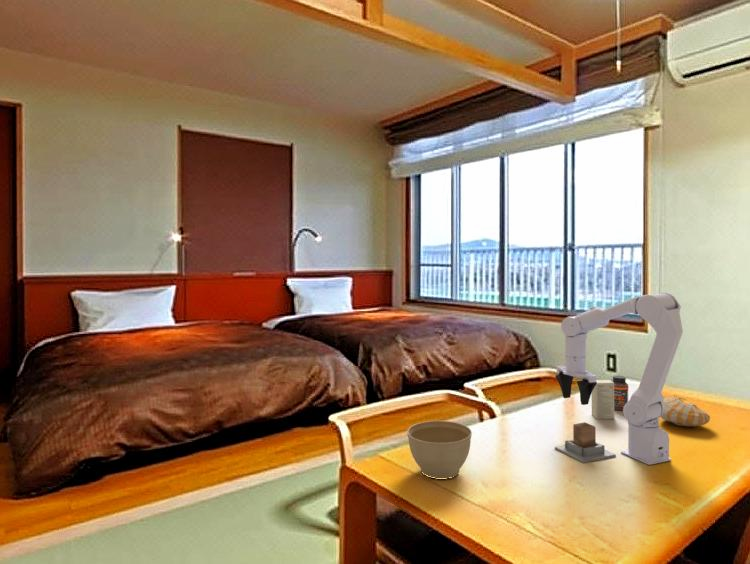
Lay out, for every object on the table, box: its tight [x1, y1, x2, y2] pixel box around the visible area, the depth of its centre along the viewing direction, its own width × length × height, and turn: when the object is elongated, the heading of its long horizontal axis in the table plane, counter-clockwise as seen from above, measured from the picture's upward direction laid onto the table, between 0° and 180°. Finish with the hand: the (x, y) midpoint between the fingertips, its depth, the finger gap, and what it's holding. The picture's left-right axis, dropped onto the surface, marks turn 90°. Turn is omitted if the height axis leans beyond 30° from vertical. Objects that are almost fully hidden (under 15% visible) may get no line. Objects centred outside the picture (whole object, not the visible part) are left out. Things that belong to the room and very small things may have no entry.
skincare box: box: [591, 379, 615, 420], centre depth 174 cm, size 6×4×12 cm
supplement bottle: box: [611, 375, 629, 412], centre depth 182 cm, size 6×6×11 cm
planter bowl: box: [406, 420, 472, 478], centre depth 133 cm, size 16×16×11 cm
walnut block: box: [572, 422, 597, 448], centre depth 144 cm, size 4×4×7 cm
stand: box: [554, 439, 617, 464], centre depth 144 cm, size 11×11×3 cm
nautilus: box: [660, 395, 711, 428], centre depth 167 cm, size 8×22×15 cm
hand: (575, 400), depth 157 cm, fingers open, 7 cm apart
